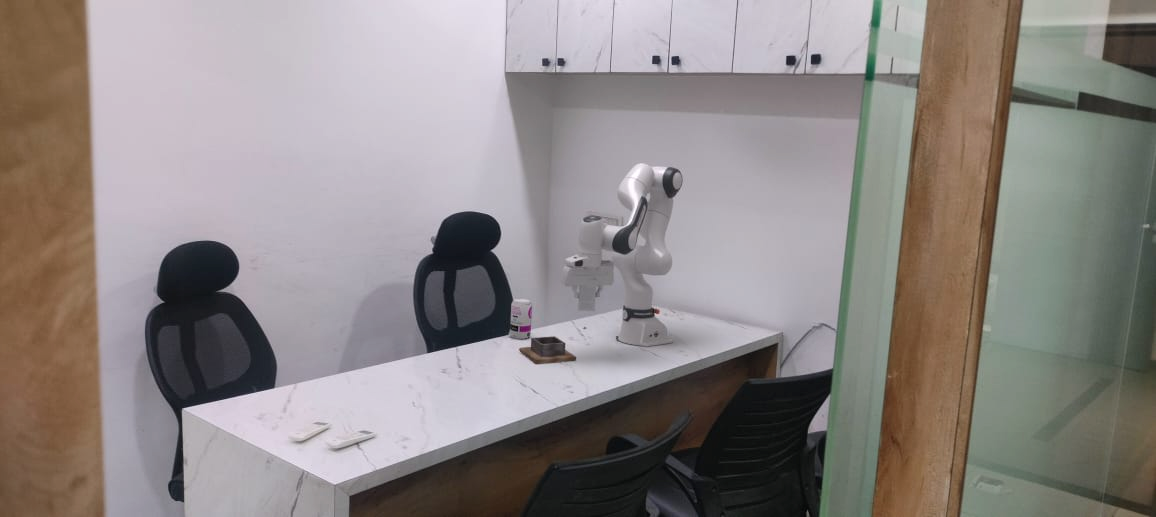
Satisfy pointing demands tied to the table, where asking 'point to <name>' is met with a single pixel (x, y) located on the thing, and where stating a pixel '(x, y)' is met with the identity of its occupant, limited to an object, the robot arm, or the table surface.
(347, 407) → the table surface
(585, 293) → the skincare box
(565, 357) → the bottle stand
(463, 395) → the table surface
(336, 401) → the table surface
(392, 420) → the table surface
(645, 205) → the robot arm
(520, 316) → the supplement can
